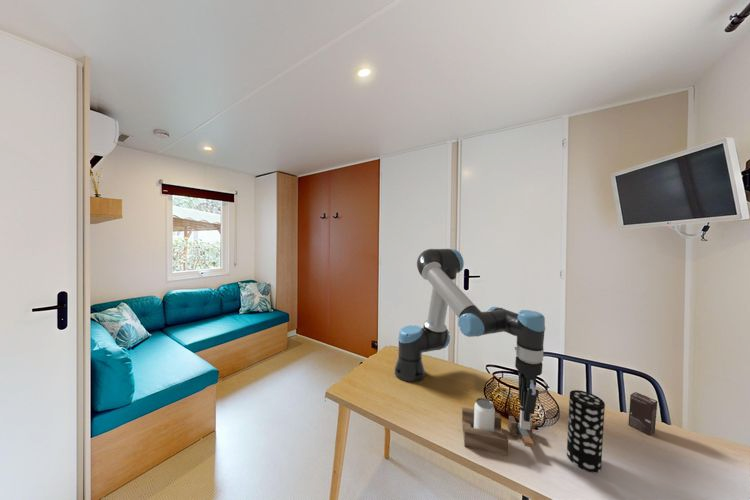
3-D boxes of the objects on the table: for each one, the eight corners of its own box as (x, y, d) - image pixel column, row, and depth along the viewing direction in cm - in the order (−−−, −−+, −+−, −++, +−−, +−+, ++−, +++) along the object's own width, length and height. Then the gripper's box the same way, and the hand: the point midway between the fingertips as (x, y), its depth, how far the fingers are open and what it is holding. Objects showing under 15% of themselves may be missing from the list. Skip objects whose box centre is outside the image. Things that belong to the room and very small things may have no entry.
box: (627, 425, 95) (629, 394, 94) (633, 421, 97) (635, 391, 96) (650, 436, 89) (652, 403, 89) (655, 433, 91) (658, 400, 91)
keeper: (515, 426, 91) (515, 421, 91) (523, 427, 90) (523, 422, 91) (524, 447, 81) (524, 441, 81) (533, 448, 80) (534, 443, 80)
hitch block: (461, 417, 97) (462, 405, 97) (528, 430, 91) (529, 417, 91) (464, 446, 84) (465, 431, 83) (543, 463, 78) (543, 448, 77)
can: (495, 445, 84) (497, 410, 84) (475, 442, 86) (476, 407, 85) (491, 431, 91) (492, 398, 90) (472, 428, 92) (473, 395, 91)
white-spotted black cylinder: (591, 476, 74) (595, 410, 73) (560, 454, 81) (563, 393, 80) (607, 466, 77) (610, 403, 76) (576, 446, 85) (579, 387, 84)
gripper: (511, 348, 90) (507, 412, 92) (522, 366, 78) (517, 440, 79) (534, 351, 88) (530, 416, 90) (549, 370, 76) (545, 445, 77)
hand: (524, 427), depth 84 cm, fingers closed
